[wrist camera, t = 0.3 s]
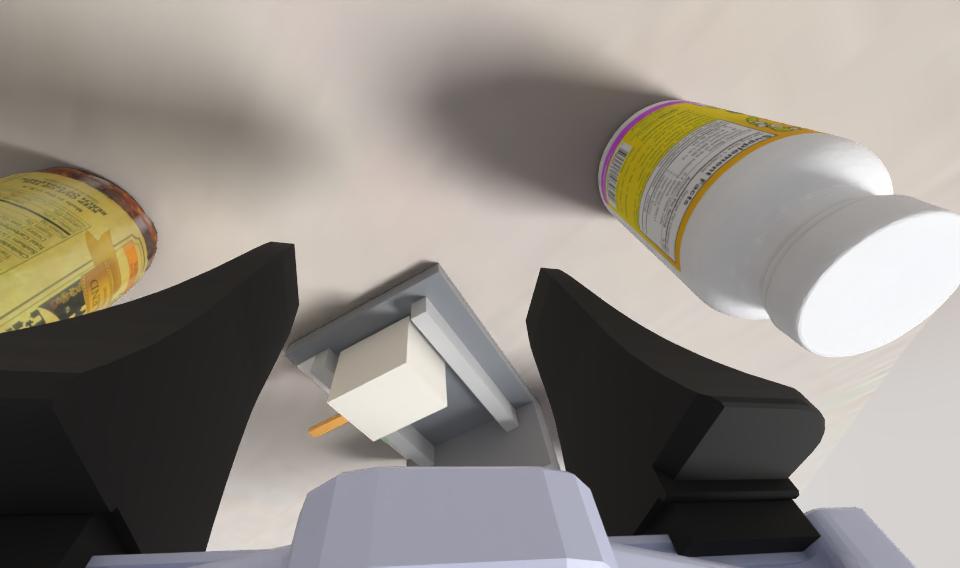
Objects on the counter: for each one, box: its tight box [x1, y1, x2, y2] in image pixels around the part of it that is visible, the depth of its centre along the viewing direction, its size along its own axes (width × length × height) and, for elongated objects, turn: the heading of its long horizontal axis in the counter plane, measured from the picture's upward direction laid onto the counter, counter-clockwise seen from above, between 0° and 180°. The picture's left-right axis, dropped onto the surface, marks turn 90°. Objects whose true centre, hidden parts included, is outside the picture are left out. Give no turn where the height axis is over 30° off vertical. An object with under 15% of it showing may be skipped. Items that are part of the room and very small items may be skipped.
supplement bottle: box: [598, 100, 960, 357], centre depth 16 cm, size 7×7×13 cm
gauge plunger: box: [308, 316, 447, 441], centre depth 23 cm, size 4×8×4 cm, turn 119°
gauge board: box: [285, 263, 560, 470], centre depth 25 cm, size 15×11×6 cm
